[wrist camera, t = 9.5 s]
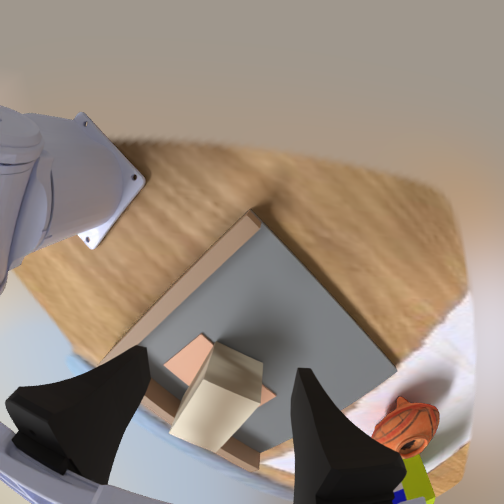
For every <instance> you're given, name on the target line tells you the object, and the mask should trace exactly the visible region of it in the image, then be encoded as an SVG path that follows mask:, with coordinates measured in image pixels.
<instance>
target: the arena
mask: <svg viewBox="0 0 504 504" xmlns="http://www.w3.org/2000/svg"><path fill="white" fill-rule="evenodd" d="M216 341H217V342H219V343H221V344H223V345H225V346H227V347H229V348H231V349H234V350H236V351H238V352H240V353H242V354H244V355H246V356H248V357H251V358H253V359H255V360H257V361H260V362H262V363H263V375H262V391H261V404H260V405H259V406H258V407H257V409H256V410H255V411H254V412H253V413H252V414H251V415H250V416H249V418H248V419H247V420H246V421H245V422H244V423H243V424H242V425H241V426H240V428H239V429H238V430H237V431H236V432H235V433H234V434H233V435H232V436H231V437H230V438H229V439H228V440H227V441H226V442H225V444H224V445H223V446H222V447H221V448H220V449H219V450H218V451H217V452H216V454H218V455H219V456H221V457H223V458H225V459H227V460H228V461H230V462H232V463H234V464H236V465H238V466H239V467H241V468H243V469H245V470H247V471H249V472H254V471H256V470H259V463H260V453H261V452H264V451H266V450H268V449H270V448H272V447H274V446H277V445H279V444H281V443H283V442H285V441H287V440H289V439H291V438H293V434H292V426H291V417H290V409H291V395H292V391H293V386H294V382H295V377H296V373H297V368H311V369H312V371H313V372H314V374H315V376H316V377H317V379H318V381H319V382H320V384H321V386H322V387H323V389H324V390H325V391H326V393H327V394H328V396H329V397H330V398H331V400H332V401H333V402H334V404H335V405H336V406H337V407H338V408H339V410H340V411H341V410H342V409H344V408H346V407H347V406H349V405H350V404H352V403H353V402H355V401H356V400H358V399H359V398H361V397H362V396H364V395H365V394H367V393H368V392H370V391H371V390H373V389H374V388H375V387H377V386H378V385H380V384H381V383H382V382H384V381H385V380H387V379H388V378H389V377H391V376H392V375H393V374H395V373H396V372H397V369H396V367H395V366H394V365H393V363H392V362H391V361H390V360H389V359H388V358H387V357H386V355H385V354H384V353H383V352H382V351H381V350H380V349H379V347H378V346H377V345H376V344H375V343H374V342H373V341H372V339H371V338H370V337H369V336H368V335H367V334H366V333H365V332H364V330H363V329H362V328H361V327H360V326H359V325H358V324H357V323H356V321H355V320H354V319H353V318H352V317H351V316H350V315H349V314H348V313H347V311H346V310H345V309H344V308H343V307H342V306H341V305H340V304H339V303H338V301H337V300H336V299H335V298H334V297H333V296H332V295H331V294H330V293H329V292H328V291H327V289H326V288H325V287H324V286H323V285H322V284H321V283H320V282H319V281H318V280H317V279H316V277H315V276H314V275H313V274H312V273H311V272H310V271H309V270H308V269H307V268H306V267H305V266H304V265H303V263H302V262H301V261H300V260H299V259H298V258H297V257H296V256H295V255H294V254H293V253H292V252H291V251H290V250H289V249H288V248H287V246H286V245H285V244H284V243H283V242H282V241H281V240H280V239H279V238H278V237H277V236H276V235H275V234H274V233H273V232H272V231H271V230H270V229H269V228H268V226H267V225H266V224H265V223H264V222H263V221H262V220H261V219H260V218H259V217H258V216H257V215H256V214H255V213H254V212H253V211H252V210H251V209H249V210H248V211H247V212H246V213H245V214H244V215H243V216H242V217H241V218H240V219H239V220H238V221H237V222H236V223H235V224H234V225H233V226H232V227H231V228H230V229H229V230H228V231H227V232H225V233H224V234H223V235H222V236H221V237H220V238H219V239H218V240H217V241H216V242H215V243H214V244H213V245H212V246H211V247H210V248H209V249H208V250H207V251H206V252H205V253H204V254H203V255H202V256H201V257H200V258H199V259H198V260H197V261H196V262H195V263H194V264H193V265H192V266H191V267H190V268H189V269H188V270H187V271H186V272H185V273H184V274H183V275H182V276H181V277H180V278H179V279H178V280H177V281H176V282H175V283H174V284H173V285H172V286H171V287H170V288H169V289H168V290H167V291H166V292H165V293H164V294H163V295H162V296H161V297H160V298H159V299H158V300H157V301H156V302H155V303H154V304H153V305H152V307H151V308H150V309H149V310H148V311H147V312H146V313H145V314H144V315H143V316H142V317H141V318H140V319H139V320H138V321H137V322H136V323H135V324H134V325H133V326H132V327H131V328H130V329H129V331H128V332H127V333H126V334H125V335H124V336H123V337H122V338H121V339H120V340H119V341H118V342H117V343H116V344H115V345H114V346H113V348H112V349H111V350H110V351H109V352H108V354H107V355H106V356H105V357H104V358H103V360H102V361H101V362H100V363H99V364H98V366H100V365H102V364H104V363H106V362H108V361H109V360H111V359H113V358H115V357H116V356H118V355H120V354H121V353H123V352H125V351H126V350H128V349H130V348H131V347H133V346H135V345H138V346H143V347H147V353H148V361H149V368H150V375H151V380H150V383H149V386H148V388H147V391H146V393H145V396H144V397H143V399H142V401H141V403H143V404H144V405H145V406H146V407H148V408H149V409H150V410H152V411H153V412H154V413H156V414H157V415H158V416H160V417H161V418H162V419H164V420H165V421H167V422H168V423H169V424H171V425H172V424H173V421H174V418H175V416H176V413H177V411H178V408H179V405H180V403H181V400H182V398H183V396H184V394H185V392H186V391H187V389H188V387H189V386H190V384H191V382H192V381H193V379H194V377H195V376H196V374H197V372H198V371H199V369H200V367H201V365H202V364H203V362H204V360H205V359H206V357H207V355H208V354H209V352H210V350H211V349H212V347H213V345H214V344H215V342H216ZM214 453H215V452H214Z"/></svg>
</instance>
